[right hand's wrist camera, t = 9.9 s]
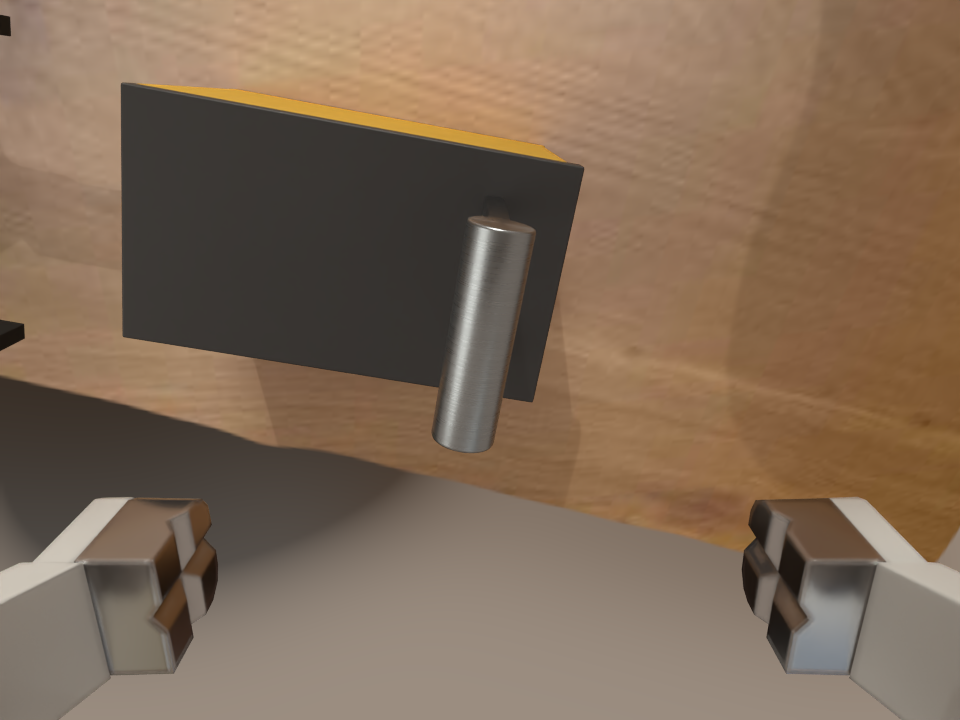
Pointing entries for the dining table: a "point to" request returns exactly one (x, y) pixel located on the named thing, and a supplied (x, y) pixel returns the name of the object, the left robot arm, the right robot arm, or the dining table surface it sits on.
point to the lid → (343, 249)
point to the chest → (368, 120)
